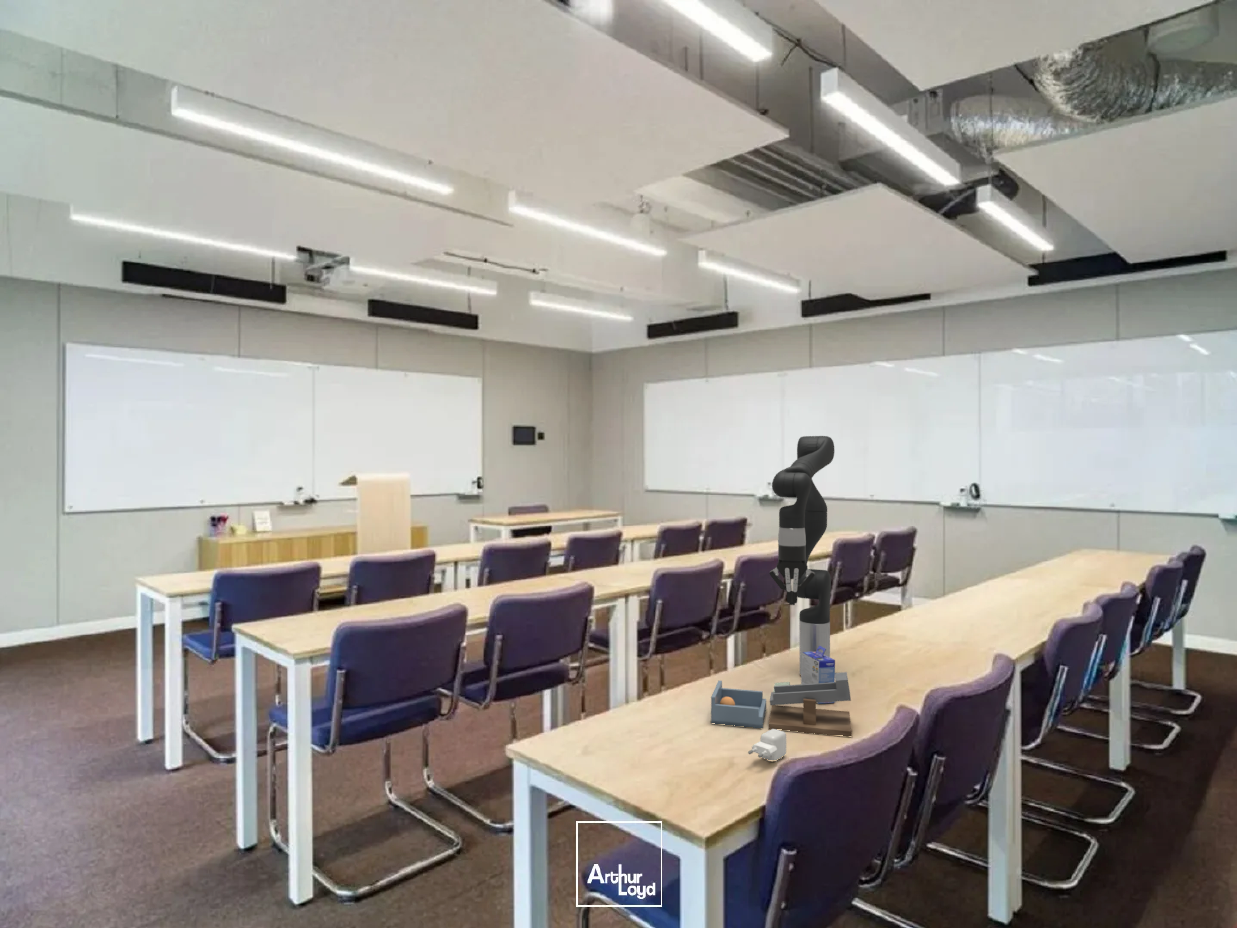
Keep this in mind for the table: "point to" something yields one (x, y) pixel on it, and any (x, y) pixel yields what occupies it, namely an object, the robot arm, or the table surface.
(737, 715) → the bin
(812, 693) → the lever
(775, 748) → the power adapter
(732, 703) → the ball
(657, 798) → the table surface
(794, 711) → the lever stand
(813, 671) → the ink cartridge box
